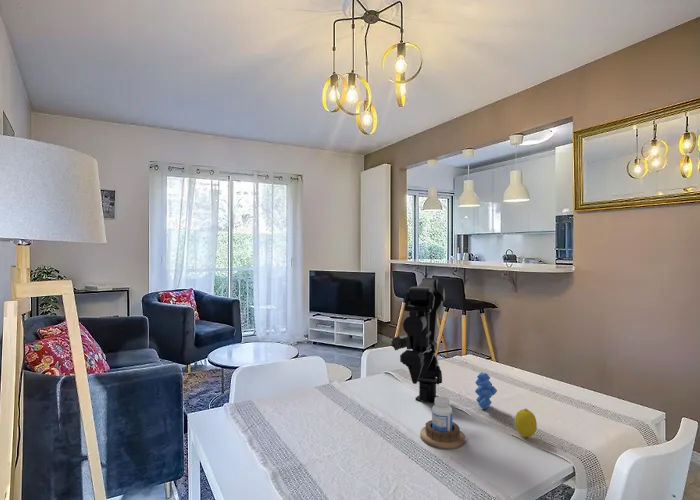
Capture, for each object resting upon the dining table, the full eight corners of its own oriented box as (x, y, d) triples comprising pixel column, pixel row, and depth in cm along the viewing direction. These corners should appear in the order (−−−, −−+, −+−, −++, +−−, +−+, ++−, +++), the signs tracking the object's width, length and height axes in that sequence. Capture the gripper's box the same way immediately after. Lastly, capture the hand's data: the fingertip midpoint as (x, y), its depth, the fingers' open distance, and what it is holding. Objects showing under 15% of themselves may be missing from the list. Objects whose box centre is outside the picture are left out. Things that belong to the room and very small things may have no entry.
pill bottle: (442, 428, 114) (442, 393, 113) (456, 435, 109) (456, 400, 109) (427, 432, 111) (428, 397, 111) (441, 440, 106) (441, 404, 106)
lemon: (535, 434, 112) (535, 406, 112) (537, 444, 107) (538, 414, 107) (513, 431, 114) (514, 403, 114) (515, 440, 109) (515, 411, 109)
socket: (429, 424, 118) (430, 413, 118) (470, 435, 112) (470, 423, 112) (413, 441, 108) (413, 429, 108) (457, 453, 101) (457, 441, 101)
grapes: (502, 416, 124) (503, 378, 124) (480, 416, 124) (481, 377, 124) (491, 402, 135) (492, 366, 135) (471, 401, 136) (471, 366, 136)
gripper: (405, 320, 135) (404, 366, 135) (383, 332, 118) (383, 384, 119) (437, 323, 130) (437, 371, 130) (420, 336, 113) (419, 390, 114)
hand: (419, 378), depth 123 cm, fingers open, 9 cm apart
